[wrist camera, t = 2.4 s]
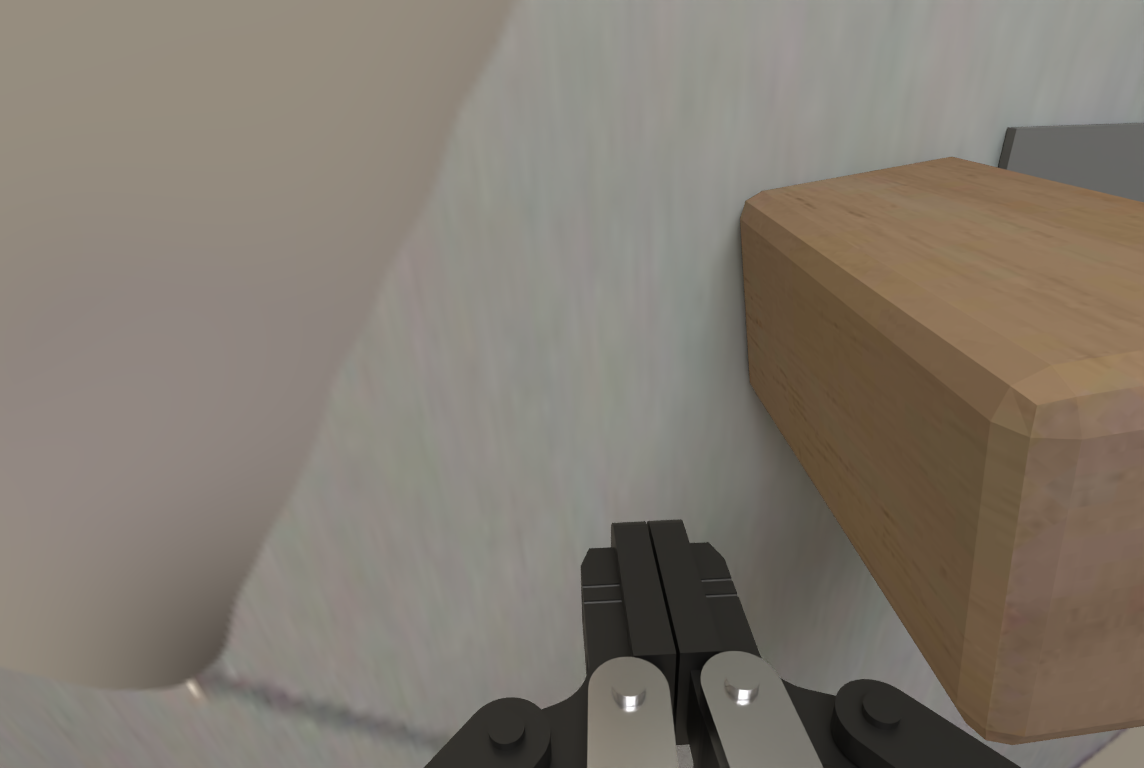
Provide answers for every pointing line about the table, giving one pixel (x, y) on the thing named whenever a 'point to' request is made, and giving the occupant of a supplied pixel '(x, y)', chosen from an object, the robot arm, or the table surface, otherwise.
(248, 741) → the table surface
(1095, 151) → the mat
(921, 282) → the block
